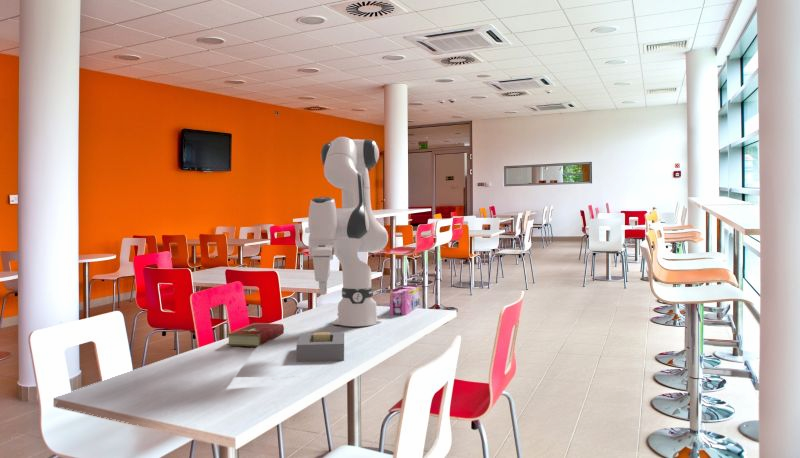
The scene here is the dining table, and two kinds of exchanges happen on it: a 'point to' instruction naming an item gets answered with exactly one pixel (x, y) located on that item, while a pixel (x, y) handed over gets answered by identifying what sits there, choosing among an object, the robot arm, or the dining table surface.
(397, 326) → the dining table surface
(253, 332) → the hardcover book
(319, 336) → the tan block
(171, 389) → the dining table surface
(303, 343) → the well
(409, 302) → the gum box
